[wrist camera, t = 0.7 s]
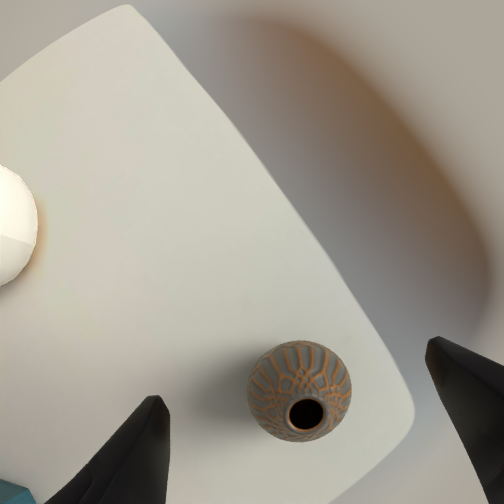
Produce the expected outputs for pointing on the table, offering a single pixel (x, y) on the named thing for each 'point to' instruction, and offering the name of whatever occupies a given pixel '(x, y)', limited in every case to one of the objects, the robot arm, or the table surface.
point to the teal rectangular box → (14, 494)
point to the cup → (15, 225)
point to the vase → (299, 391)
